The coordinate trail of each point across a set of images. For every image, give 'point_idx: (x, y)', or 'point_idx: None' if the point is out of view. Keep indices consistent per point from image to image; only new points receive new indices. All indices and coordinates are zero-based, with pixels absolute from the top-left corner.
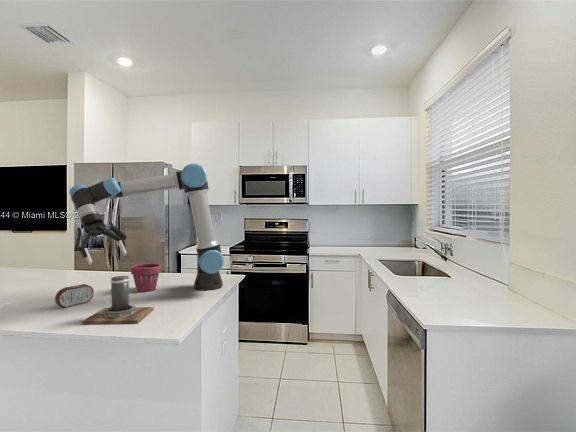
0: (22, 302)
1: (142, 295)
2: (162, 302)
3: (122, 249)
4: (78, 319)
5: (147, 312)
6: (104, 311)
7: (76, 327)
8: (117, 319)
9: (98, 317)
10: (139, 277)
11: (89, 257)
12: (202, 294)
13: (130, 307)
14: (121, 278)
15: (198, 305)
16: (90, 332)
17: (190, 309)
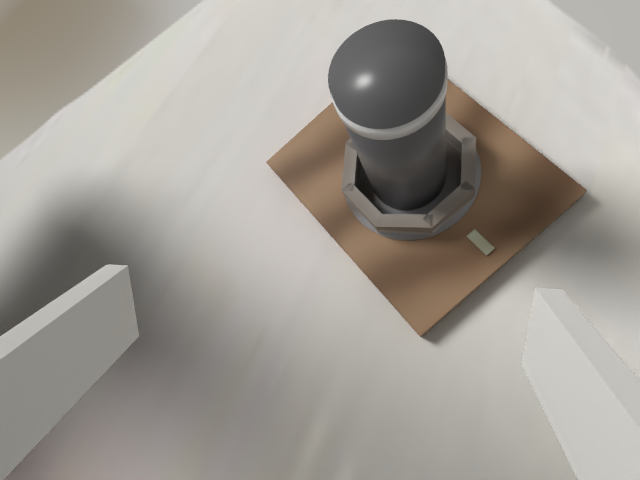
0: None
1: (157, 463)
2: (185, 245)
3: (90, 327)
4: (574, 290)
5: (323, 110)
6: (474, 190)
7: (614, 171)
8: (454, 102)
9: (506, 189)
10: None
11: (578, 326)
12: (25, 225)
13: (356, 172)
14: (395, 25)
15: (142, 98)
16: (582, 68)
17: (190, 74)
